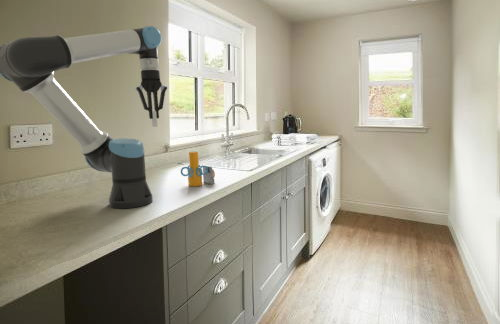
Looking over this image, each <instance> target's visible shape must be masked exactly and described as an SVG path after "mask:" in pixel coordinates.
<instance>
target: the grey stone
mask: <svg viewBox="0 0 500 324" xmlns="http://www.w3.org/2000/svg"><path fill="white" fill-rule="evenodd" d="M204 165H205V166H207V167H208V173H207V174H205V175H202V181H203V183H205V184H208V185H210V186H211V185H214V184H215V176H216V173H215V171H214V169H213V167H212V166H211V165H207V164H204ZM206 171H207V169H206V168H205V167H202V173H205V172H206Z"/></svg>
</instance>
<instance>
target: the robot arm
mask: <svg viewBox="0 0 500 324" xmlns="http://www.w3.org/2000/svg"><path fill="white" fill-rule="evenodd" d="M161 43H162V35H161V32H160V30H159V29H158V28H157V27H155V26H153V25H149V26H148V25H147V26H145V27H139V28H134V29H133V28H132V29H125V30H123V29H122V30H117V31H110V32H103V33H101V32H100V33H94V34H87V35H85V34H84V35H79V36H73V37H72V36H70V37H65V38H64V37H63V36H62V35H60V34H58V35H49V36H24V37H19V38H16V39H14V40H11V41H8V42H6V43H3V44H2V45H1V46H0V76H1V77H2V78H4V79H5V80H7V81H9V82H11V83H12V82H13V83H14V85H16V87H18V89H20V91H21V92H22V93H26V94H31V95H32V96H33V97H34V98H35V99H36V101H38V103H39V104H40V105H42V106H43V108H45V110H46V111H47V112H48V113H49V114H50V115H51V116H52V117H53V118H54V119H55V120H56V121H57V123H58V124H60V125H61V127H63V129H64V130H65V131H66V132H68V134H69V135H70V136H71V137H72V138H73V139H74V140H75V141H76V143H78V144H79V145H80V147H81V148H80V153H81V154H82V155H83V156H84V159H85V162H86V163H87V165H88V166H89V167H90V168H91V169H92V170H93V169H94V170H95V171H97V172H101V173H102V172H105V173H111V178H112V179H111V181H112V186H111V189H110V194H109V198H108V203H109V204H108V205H109V207H110V208H113V209H130V208H131V209H132V208H138V207H143V206H147V205H150V204H151V203H152V202H153V200H154V199H153V194H152V191H151V189H150V186H149V185H148V181H147V175H146V174H147V173H146V163H145V162H146V161H145V149H144V143H143V142H142V141H140V139H135V138H114V139H113V137H112V136H111V135H110V134H109V133H108V132H107V131H101V130H100V129H99V128H98V127H97V126H96V124H95V123H94V122H93V121H92V120H91V119H90V118H89V116H88V115H86V113H85V112H84V111H83V109H81V108H80V106H79V105H78V104H77V103H76V102H75V100H73V98H72V97H71V96H70V95H69V94H68V93H67V91H66V90H65V89H64V88H63V87H62V86H61V84H60V83H58V81H57V80H56V79H55V72H57V71H59V70H64V69H69V68H71V67H72V65H73V64H76V63H81V62H82V63H83V62H88V61H93V60H97V59H102V58H108V57H113V56H119V55H123V54H129V55H138V57H139V67H140V69H141V71H140V77H141V78H140V79H141V82H140V85H138V86H136V87H135V90H136V92H138V95H139V97H140V101H141V104H142V106H143V109H144V110H145V111H148V116H149V119H151V123H152V124H151V125H152V127H154V128H155V127H158V119H159V118H160V113H159V111H160V110H163V107H164V102H165V96H166V95H165V94H166V92H167V90H168V86H165V85H163V84H162V82H161V74H160V72H161V71H159V69H160V64H159V51H158V50H159V49H158V47H159V46H160V45H161ZM143 89H144V91H145V92H146V95H147V98H145V95H144V92H143ZM159 90H161V91H160V96H159V97H160V98H158V91H159ZM152 96H153V101H152ZM146 99H147V100H146ZM158 99H159V100H158ZM146 101H147V102H146ZM152 102H153V103H152ZM153 108H154V110H153Z"/></svg>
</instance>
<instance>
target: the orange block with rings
mask: <svg viewBox="0 0 500 324" xmlns="http://www.w3.org/2000/svg"><path fill="white" fill-rule="evenodd" d="M188 158H189V159H188V160H189V164H188V165H187V166H183V167H181V169H180V175H181V176H183V177H187V181H188V186H189V187H200V186H202V185H203V175H205V174H207V173H208V167H207V166H205V165H206V164H202V165H200V164H199V163H200V162H199V151H197V150H194V151H192V150H191V151H188ZM203 167H205V168H206V169H207V171H206V172H205V173H203ZM185 169H186V170H187V173H186V174H185V173H183V170H185Z"/></svg>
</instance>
